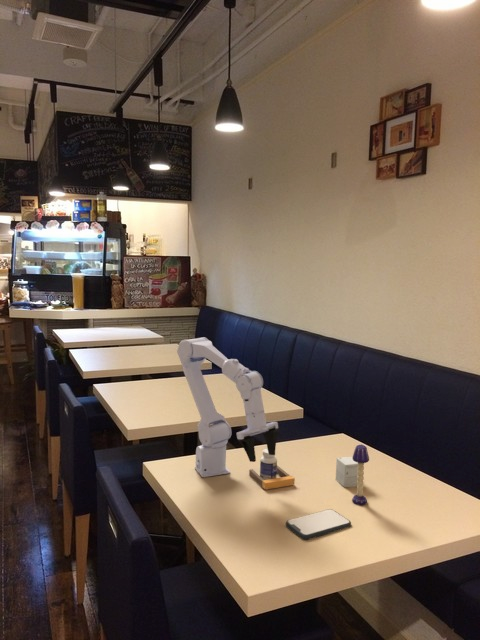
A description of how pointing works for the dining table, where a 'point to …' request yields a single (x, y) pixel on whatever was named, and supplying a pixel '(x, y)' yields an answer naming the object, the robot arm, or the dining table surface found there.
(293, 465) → the dining table surface
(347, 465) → the product box
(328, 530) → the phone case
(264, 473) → the pill bottle
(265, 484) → the orange rectangular block
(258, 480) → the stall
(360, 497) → the toy lamp
